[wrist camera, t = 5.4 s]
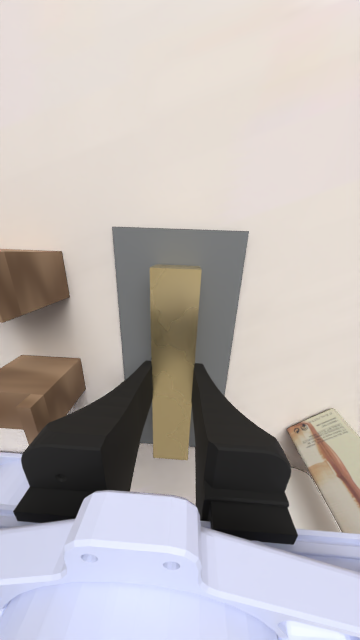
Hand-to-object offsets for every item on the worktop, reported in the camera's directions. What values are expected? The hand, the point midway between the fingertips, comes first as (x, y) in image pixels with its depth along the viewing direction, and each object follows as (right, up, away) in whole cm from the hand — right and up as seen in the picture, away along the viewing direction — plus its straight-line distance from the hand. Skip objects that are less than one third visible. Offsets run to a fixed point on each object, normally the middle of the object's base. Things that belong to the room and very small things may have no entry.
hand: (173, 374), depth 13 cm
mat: (0, +1, +2) cm, 2 cm away
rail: (0, +1, +1) cm, 2 cm away
